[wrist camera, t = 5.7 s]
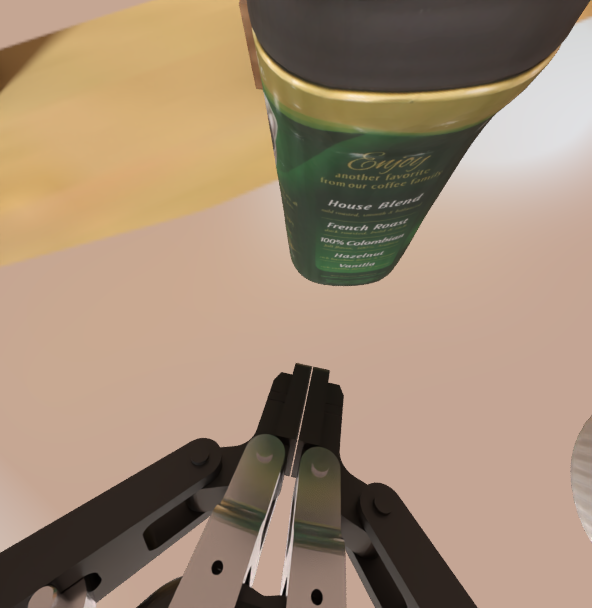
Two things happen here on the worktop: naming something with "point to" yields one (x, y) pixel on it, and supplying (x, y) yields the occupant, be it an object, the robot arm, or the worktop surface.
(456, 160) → the coffee jar
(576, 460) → the ramekin
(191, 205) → the worktop surface
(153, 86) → the worktop surface
